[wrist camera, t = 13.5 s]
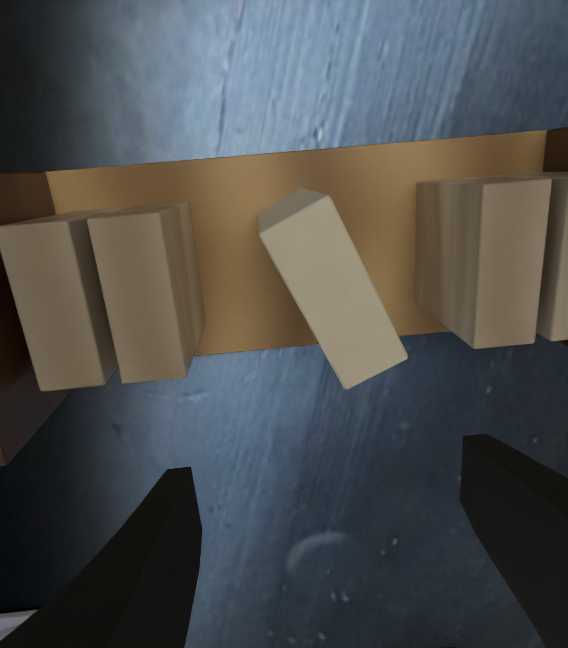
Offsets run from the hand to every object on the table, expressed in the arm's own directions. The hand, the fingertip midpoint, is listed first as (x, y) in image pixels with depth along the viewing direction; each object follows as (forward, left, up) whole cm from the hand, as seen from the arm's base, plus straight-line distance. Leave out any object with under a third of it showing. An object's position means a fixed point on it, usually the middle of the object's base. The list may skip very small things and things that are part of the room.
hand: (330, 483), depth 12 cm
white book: (+1, +5, -9) cm, 10 cm away
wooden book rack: (+1, +5, -9) cm, 10 cm away
